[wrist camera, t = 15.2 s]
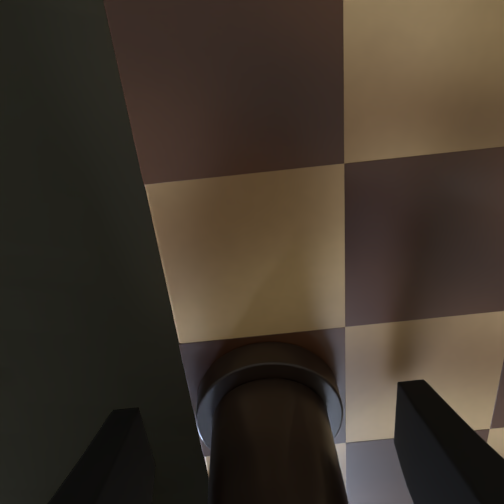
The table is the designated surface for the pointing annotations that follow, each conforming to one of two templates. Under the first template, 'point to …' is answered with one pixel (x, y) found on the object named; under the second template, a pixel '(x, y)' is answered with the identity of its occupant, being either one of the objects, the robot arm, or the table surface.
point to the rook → (271, 427)
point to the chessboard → (330, 196)
